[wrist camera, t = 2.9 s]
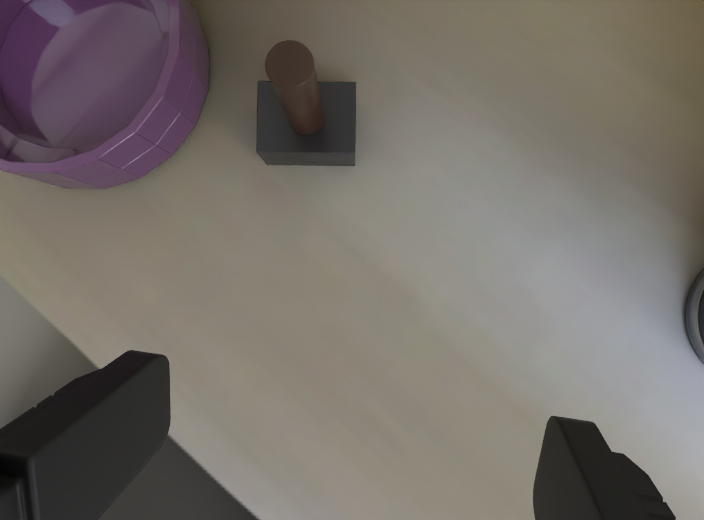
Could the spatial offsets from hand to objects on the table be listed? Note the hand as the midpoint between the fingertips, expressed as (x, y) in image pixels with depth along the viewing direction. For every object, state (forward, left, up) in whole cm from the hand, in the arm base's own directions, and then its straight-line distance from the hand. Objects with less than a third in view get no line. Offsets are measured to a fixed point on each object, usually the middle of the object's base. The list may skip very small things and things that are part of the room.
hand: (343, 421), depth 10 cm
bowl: (+18, -16, -22) cm, 33 cm away
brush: (+3, -12, -22) cm, 26 cm away
